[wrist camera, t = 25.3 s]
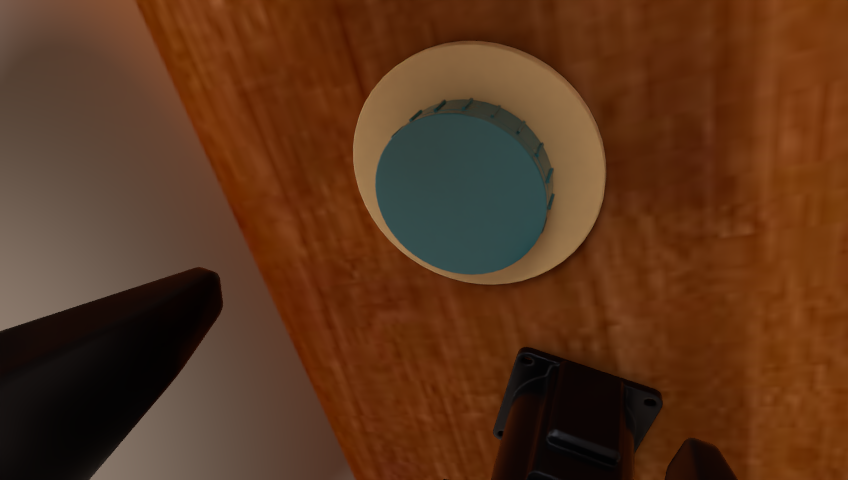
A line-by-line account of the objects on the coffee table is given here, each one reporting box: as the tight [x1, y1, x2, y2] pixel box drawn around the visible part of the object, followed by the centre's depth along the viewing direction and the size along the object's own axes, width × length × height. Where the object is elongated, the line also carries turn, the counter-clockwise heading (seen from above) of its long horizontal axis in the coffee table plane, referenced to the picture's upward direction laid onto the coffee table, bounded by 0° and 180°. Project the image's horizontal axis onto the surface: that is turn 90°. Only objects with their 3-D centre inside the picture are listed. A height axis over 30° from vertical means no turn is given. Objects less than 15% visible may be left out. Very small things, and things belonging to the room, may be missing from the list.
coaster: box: [353, 41, 606, 285], centre depth 20 cm, size 10×10×1 cm
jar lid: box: [375, 98, 555, 275], centre depth 20 cm, size 7×7×2 cm
